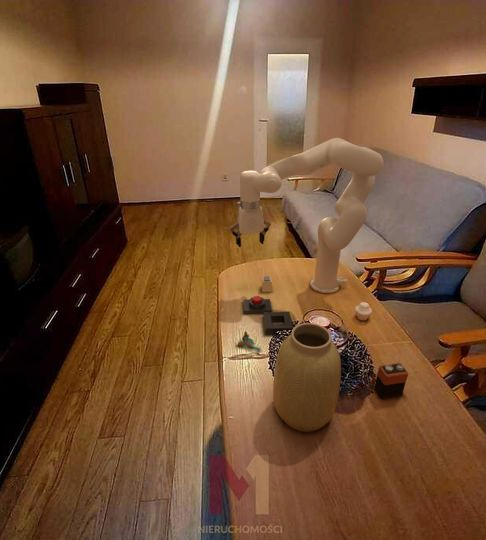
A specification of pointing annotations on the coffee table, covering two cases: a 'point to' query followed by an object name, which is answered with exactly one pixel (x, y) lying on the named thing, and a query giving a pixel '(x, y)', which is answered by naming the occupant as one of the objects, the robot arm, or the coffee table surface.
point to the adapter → (276, 317)
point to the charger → (266, 284)
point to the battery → (391, 380)
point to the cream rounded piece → (363, 311)
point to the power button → (257, 299)
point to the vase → (307, 378)
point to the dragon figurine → (247, 341)
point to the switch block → (256, 306)
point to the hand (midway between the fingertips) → (250, 244)
